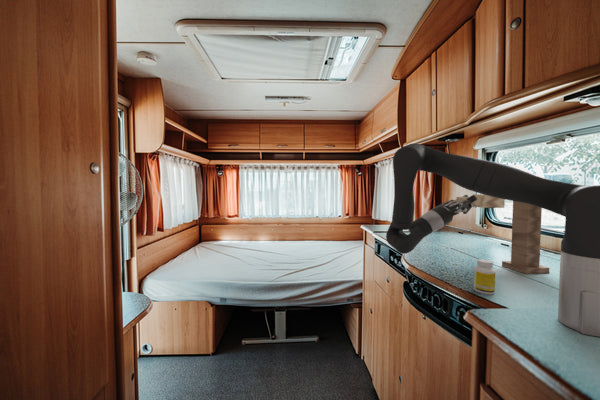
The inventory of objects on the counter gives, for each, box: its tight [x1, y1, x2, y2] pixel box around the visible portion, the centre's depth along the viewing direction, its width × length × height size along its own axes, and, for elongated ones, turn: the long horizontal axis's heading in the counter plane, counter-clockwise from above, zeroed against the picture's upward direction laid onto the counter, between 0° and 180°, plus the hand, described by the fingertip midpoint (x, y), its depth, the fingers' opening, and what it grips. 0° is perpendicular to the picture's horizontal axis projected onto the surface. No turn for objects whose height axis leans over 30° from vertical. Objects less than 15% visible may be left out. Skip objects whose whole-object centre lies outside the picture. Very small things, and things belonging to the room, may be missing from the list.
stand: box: [501, 201, 550, 275], centre depth 98 cm, size 12×12×31 cm
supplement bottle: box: [473, 258, 496, 295], centre depth 76 cm, size 5×5×10 cm
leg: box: [455, 193, 505, 209], centre depth 94 cm, size 17×5×5 cm, turn 97°
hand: (471, 197), depth 94 cm, fingers closed on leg, 3 cm apart
